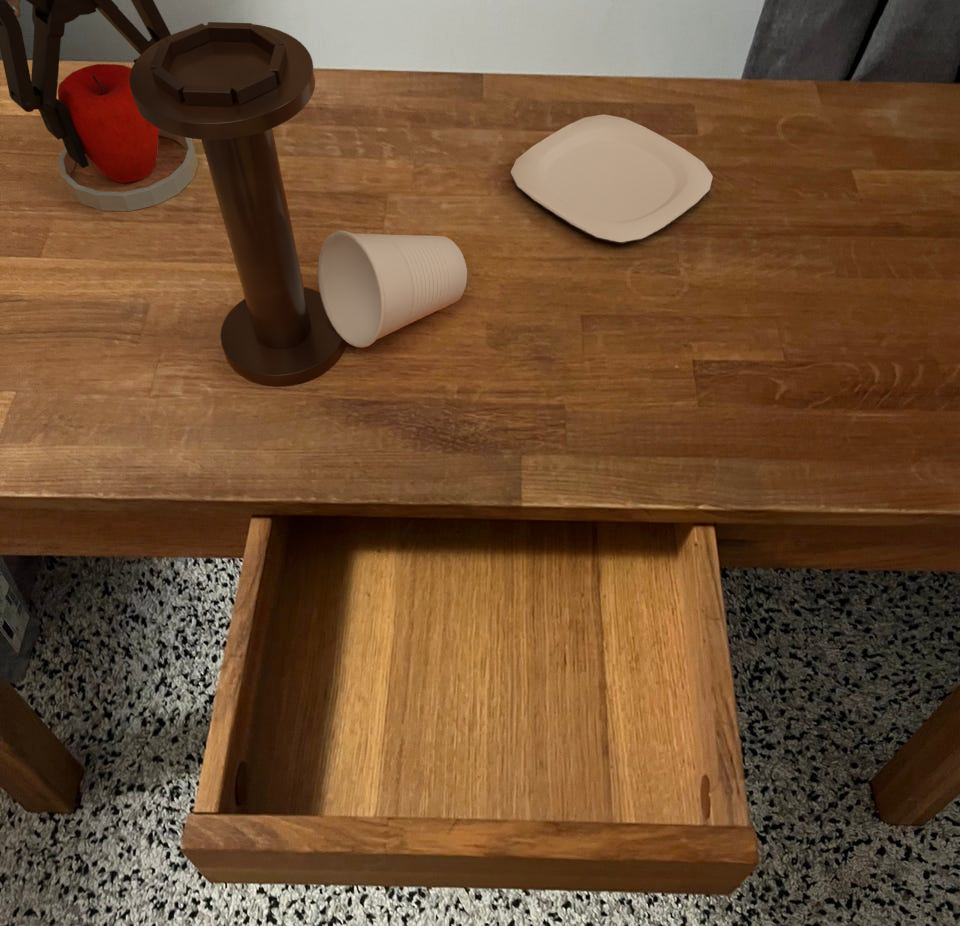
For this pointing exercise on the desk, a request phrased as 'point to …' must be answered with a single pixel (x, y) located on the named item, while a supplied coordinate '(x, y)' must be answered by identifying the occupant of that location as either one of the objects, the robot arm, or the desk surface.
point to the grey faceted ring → (137, 196)
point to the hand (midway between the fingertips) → (121, 141)
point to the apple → (110, 121)
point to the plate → (612, 178)
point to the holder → (246, 182)
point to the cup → (386, 281)
